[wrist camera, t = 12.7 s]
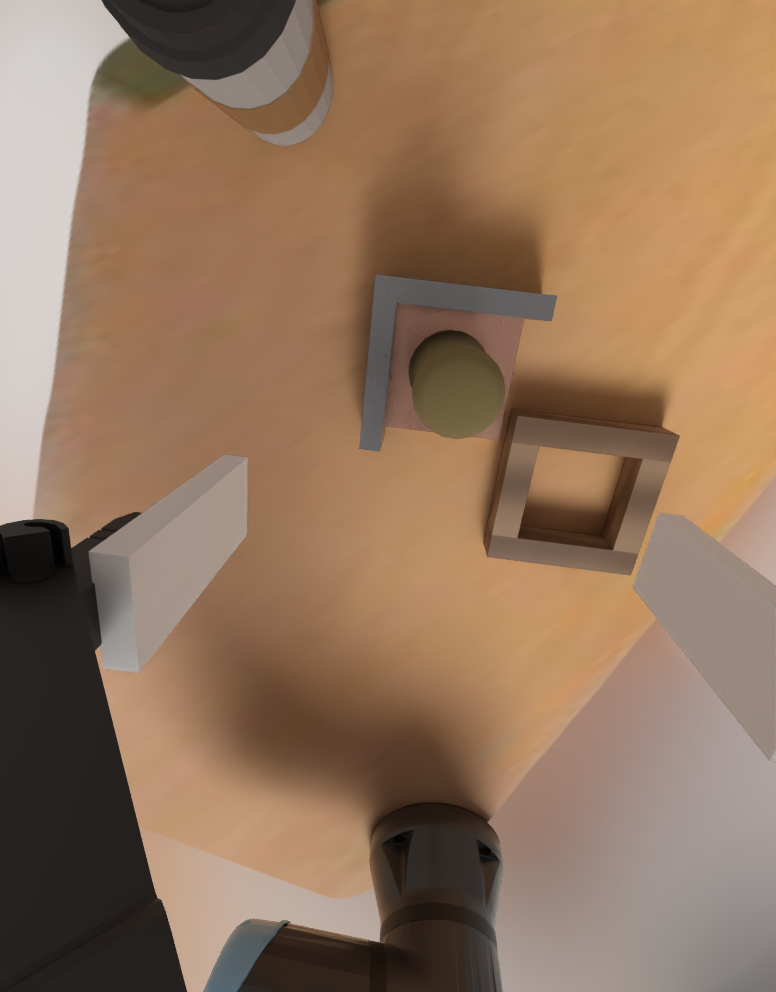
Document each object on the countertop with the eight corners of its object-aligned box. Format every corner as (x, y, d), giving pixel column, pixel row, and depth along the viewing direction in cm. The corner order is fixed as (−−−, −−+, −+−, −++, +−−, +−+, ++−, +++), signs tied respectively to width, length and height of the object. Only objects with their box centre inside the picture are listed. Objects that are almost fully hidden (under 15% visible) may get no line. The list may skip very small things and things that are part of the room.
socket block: (618, 559, 40) (630, 575, 38) (483, 542, 41) (487, 556, 38) (662, 427, 36) (679, 435, 34) (511, 408, 36) (517, 415, 34)
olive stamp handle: (441, 311, 34) (451, 313, 24) (506, 363, 35) (542, 385, 25) (392, 381, 36) (381, 410, 26) (455, 428, 37) (468, 473, 27)
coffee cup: (196, 38, 29) (-7, -207, 15) (320, -26, 28) (219, -362, 14) (253, 187, 32) (124, 93, 18) (368, 135, 30) (325, -10, 17)
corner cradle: (508, 453, 38) (518, 468, 34) (365, 435, 38) (359, 449, 34) (541, 297, 33) (557, 295, 30) (380, 278, 34) (375, 274, 30)
